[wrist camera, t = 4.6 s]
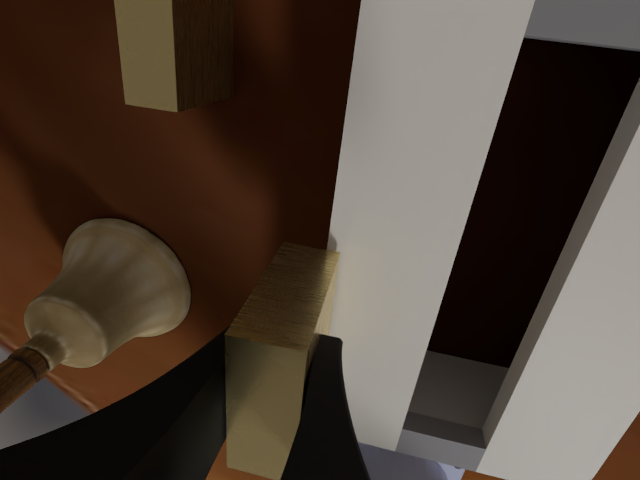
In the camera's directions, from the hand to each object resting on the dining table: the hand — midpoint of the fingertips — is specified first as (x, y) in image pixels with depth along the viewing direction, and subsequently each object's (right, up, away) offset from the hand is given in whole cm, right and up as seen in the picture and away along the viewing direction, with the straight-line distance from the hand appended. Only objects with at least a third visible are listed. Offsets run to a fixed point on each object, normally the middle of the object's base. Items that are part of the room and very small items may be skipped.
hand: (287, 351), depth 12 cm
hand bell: (-11, +1, +12) cm, 16 cm away
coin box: (+8, +4, +6) cm, 11 cm away
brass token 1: (-4, +13, +5) cm, 14 cm away
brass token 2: (0, +1, +2) cm, 3 cm away
